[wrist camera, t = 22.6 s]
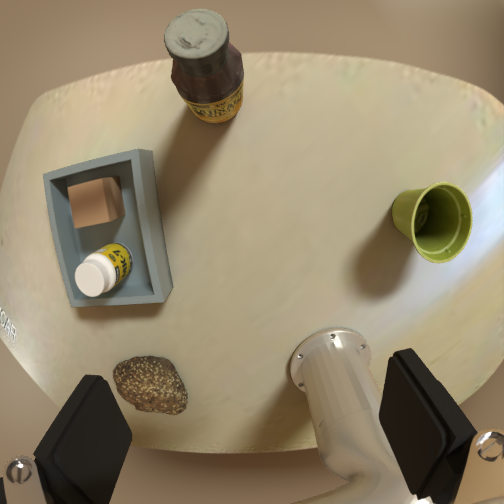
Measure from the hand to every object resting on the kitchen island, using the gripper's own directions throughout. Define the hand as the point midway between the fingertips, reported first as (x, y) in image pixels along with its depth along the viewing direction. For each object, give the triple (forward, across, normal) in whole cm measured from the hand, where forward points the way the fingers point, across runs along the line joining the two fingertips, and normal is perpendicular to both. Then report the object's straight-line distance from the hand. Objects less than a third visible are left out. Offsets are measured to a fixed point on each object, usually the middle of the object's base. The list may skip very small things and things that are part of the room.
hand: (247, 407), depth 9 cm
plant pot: (+31, -22, 0) cm, 38 cm away
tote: (+30, +18, -2) cm, 35 cm away
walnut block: (+29, +18, -6) cm, 35 cm away
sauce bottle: (+31, +2, -16) cm, 34 cm away
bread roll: (+31, +19, +24) cm, 44 cm away
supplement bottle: (+30, +18, +2) cm, 34 cm away
